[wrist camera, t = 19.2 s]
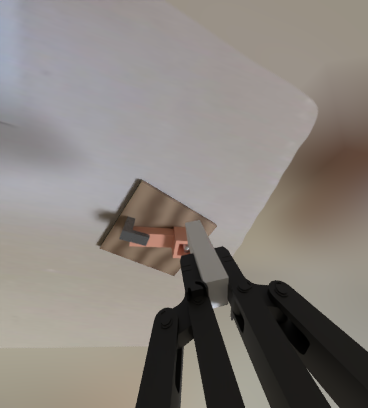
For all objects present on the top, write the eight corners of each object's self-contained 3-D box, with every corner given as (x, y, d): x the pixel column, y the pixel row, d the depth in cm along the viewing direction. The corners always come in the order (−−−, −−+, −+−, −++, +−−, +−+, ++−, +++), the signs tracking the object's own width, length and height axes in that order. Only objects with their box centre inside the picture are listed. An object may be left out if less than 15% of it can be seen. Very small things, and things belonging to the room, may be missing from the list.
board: (101, 245, 41) (99, 248, 40) (142, 179, 35) (141, 181, 34) (173, 272, 50) (173, 275, 48) (215, 223, 44) (217, 226, 43)
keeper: (125, 221, 39) (118, 239, 32) (128, 213, 38) (122, 230, 32) (147, 227, 41) (145, 246, 34) (150, 220, 40) (149, 238, 33)
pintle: (179, 236, 44) (182, 251, 38) (182, 231, 43) (186, 246, 38) (184, 238, 44) (188, 253, 39) (187, 234, 44) (192, 248, 38)
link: (131, 240, 40) (127, 257, 35) (132, 223, 38) (127, 238, 33) (189, 243, 44) (193, 258, 38) (192, 227, 42) (197, 241, 36)
